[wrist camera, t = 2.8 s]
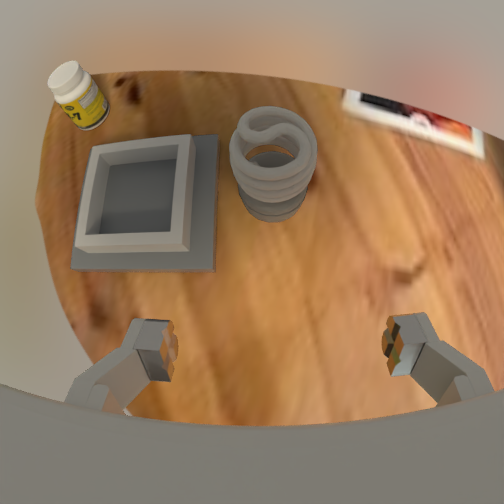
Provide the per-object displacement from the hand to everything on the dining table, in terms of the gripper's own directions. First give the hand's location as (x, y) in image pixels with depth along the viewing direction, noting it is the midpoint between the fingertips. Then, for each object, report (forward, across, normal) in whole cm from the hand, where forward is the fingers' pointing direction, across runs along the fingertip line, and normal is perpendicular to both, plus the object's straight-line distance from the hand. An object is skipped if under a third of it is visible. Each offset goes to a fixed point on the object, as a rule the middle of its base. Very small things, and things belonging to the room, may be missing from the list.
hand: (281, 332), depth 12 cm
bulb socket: (+19, +12, +3) cm, 23 cm away
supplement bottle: (+28, +21, -6) cm, 36 cm away
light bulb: (+19, 0, +3) cm, 19 cm away
